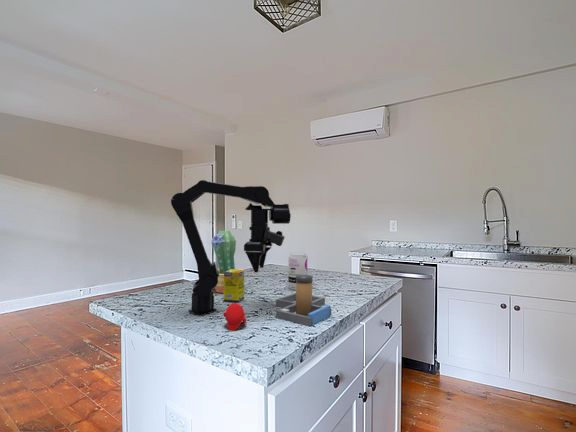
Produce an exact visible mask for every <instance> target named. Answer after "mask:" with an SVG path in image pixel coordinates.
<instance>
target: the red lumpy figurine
mask: <svg viewBox="0 0 576 432" xmlns="http://www.w3.org/2000/svg"><path fill="white" fill-rule="evenodd" d="M223 317H225V321H226V326H227V329H228V330H229V331H231V332H232V331H233V332H235V331H236V330H237V329H238V328H239V327H240V325H242V326H244V325H246V323H247V316H246V313H245V309H244V308H243V306H242V305H241V304H239V303H237V302H233V303H231V304H230V305H228V306H227V308H226V310H225V311H224V313H223Z"/></svg>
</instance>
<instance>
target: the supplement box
mask: <svg viewBox="0 0 576 432" xmlns="http://www.w3.org/2000/svg"><path fill="white" fill-rule="evenodd" d="M244 299H245V270H244V269H242V270H233V269H230V270H228V271H226V272H224V293H223V303H224V302H225V303H226V302H227V303H237V304H239V303H240V302H242V300H244Z"/></svg>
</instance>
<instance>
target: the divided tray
mask: <svg viewBox="0 0 576 432" xmlns="http://www.w3.org/2000/svg"><path fill="white" fill-rule="evenodd" d="M323 304H324V305H323ZM275 306H276V307H281V308H280V309H279V308H278V309H276V311H275V318H276V319H280V320H284V321H289V322H292V323H295V324H300V325H304V326H307V327H312V326H313V325H315V324H317V323H319V322H321V321H324V320H325V319H328V318H329V317H331V316H332V308H331V305H330V304H326V298H325V297H322V296H318V295H313V294H312V312H311V313H308V316H304V315H300V314H296V292H294V293H291V294H288V295H285V296H282V297H279V298H276V299H275Z"/></svg>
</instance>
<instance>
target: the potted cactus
mask: <svg viewBox="0 0 576 432" xmlns="http://www.w3.org/2000/svg"><path fill="white" fill-rule="evenodd" d="M236 243H237V240H236V237H235V235H233V233H232V231H230V230H219V231H218V233H216V234H215V235H214V236H213V237H212V238H211V249H213V252H214V253H215V255H216V258H217V264H218V268H216V269H217V270H218V272H219V277H218V283H217V285H216V287H215V288H214V289H215V292H216V293H221V294H224V272H226V271H228V270H230V269H233V270H243V269H242V268H235V267H236V265H235V254H236V253H235V252H236V245H237V244H236Z"/></svg>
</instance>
